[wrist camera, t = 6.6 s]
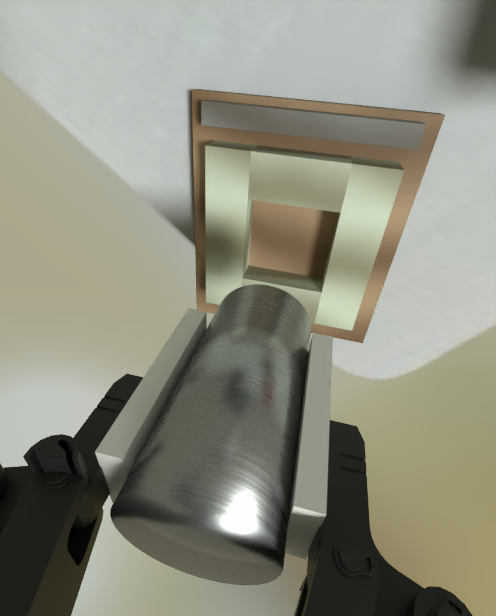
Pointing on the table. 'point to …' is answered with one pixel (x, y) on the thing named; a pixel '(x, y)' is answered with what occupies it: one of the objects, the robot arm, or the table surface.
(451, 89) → the table surface
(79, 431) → the robot arm
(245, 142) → the jig
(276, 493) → the brushed metal cylinder
